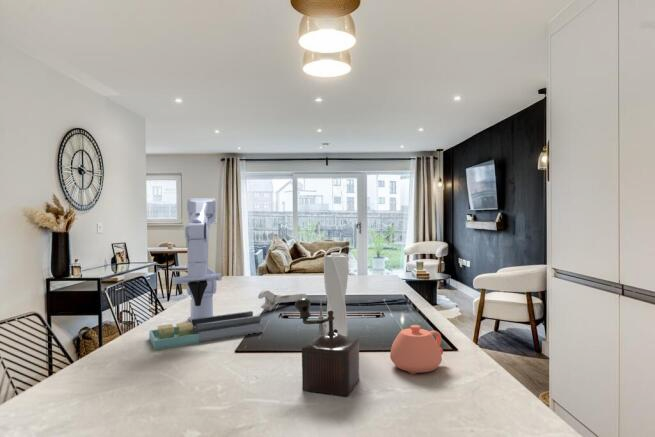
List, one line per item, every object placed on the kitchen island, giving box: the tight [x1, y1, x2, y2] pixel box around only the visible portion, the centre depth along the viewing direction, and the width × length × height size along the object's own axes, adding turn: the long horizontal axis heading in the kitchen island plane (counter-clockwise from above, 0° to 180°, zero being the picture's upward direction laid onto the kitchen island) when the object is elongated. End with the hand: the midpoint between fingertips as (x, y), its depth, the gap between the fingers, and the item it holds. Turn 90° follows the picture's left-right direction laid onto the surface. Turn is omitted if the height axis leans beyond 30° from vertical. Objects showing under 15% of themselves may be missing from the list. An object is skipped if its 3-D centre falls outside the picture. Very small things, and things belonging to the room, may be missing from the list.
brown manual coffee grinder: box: [294, 297, 360, 398], centre depth 93 cm, size 16×11×18 cm
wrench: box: [257, 289, 307, 312], centre depth 171 cm, size 8×2×30 cm
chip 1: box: [157, 323, 175, 340], centre depth 124 cm, size 4×4×4 cm
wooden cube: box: [175, 321, 193, 337], centre depth 126 cm, size 4×4×4 cm
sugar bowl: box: [389, 324, 444, 375], centre depth 102 cm, size 12×14×10 cm
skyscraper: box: [317, 246, 349, 337], centre depth 123 cm, size 8×8×28 cm
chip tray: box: [148, 326, 200, 351], centre depth 125 cm, size 12×12×2 cm
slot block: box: [190, 310, 264, 344], centre depth 133 cm, size 12×20×5 cm, turn 120°
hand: (197, 305), depth 130 cm, fingers closed
